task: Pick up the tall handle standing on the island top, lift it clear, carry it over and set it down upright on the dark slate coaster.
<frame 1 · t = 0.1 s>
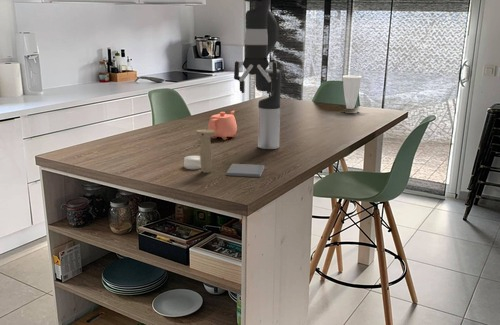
hand: (255, 93, 171), 29 cm above the kitchen island, fingers open, 8 cm apart
handle: (206, 172, 184), on the kitchen island
cup: (350, 112, 311), on the kitchen island
teapot: (223, 137, 241), on the kitchen island
coaster: (245, 171, 185), on the kitchen island
white dome knob: (193, 167, 191), on the kitchen island
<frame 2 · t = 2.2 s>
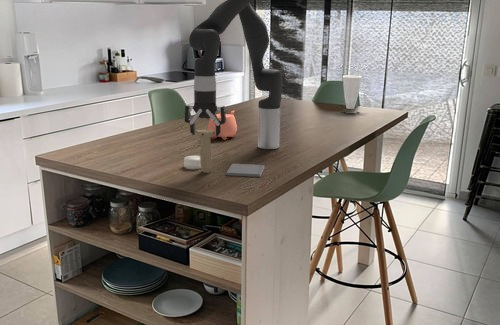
hand: (205, 135, 181), 14 cm above the kitchen island, fingers open, 8 cm apart
nothing on the kitchen island moved.
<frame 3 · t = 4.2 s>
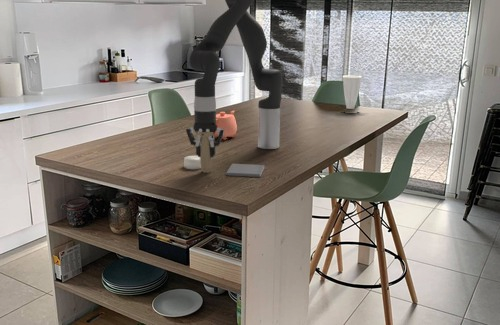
hand: (205, 156, 183), 6 cm above the kitchen island, fingers closed on handle, 4 cm apart
handle: (206, 172, 184), on the kitchen island, touching gripper
everything else where it was.
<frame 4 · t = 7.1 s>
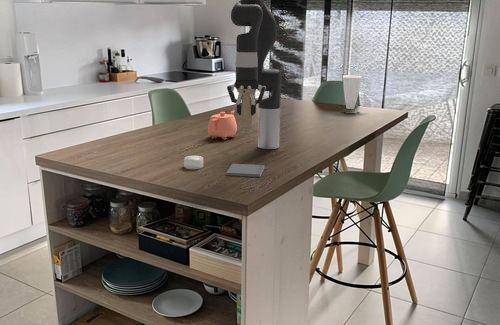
hand: (246, 114, 180), 21 cm above the kitchen island, fingers closed on handle, 4 cm apart
handle: (246, 131, 182), point 15 cm above the kitchen island, touching gripper
everything else where it was.
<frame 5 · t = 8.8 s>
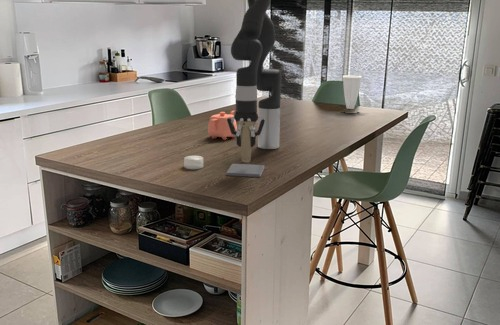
hand: (246, 146, 183), 9 cm above the kitchen island, fingers closed on handle, 4 cm apart
handle: (245, 162, 184), point 3 cm above the kitchen island, touching gripper
everything else where it was.
when the fingers open (8 cm above the kitchen island, at t = 10.1 s): handle stays where it is, resting on coaster.
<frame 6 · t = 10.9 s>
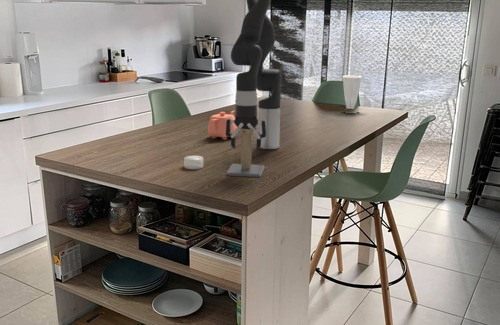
hand: (245, 148, 183), 9 cm above the kitchen island, fingers open, 8 cm apart
handle: (245, 169, 185), point 1 cm above the kitchen island, touching coaster
everything else where it was.
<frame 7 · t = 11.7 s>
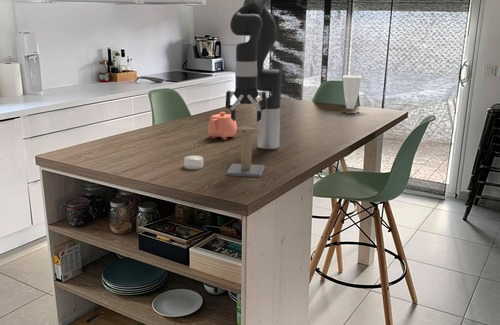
hand: (246, 120, 181), 19 cm above the kitchen island, fingers open, 8 cm apart
nothing on the kitchen island moved.
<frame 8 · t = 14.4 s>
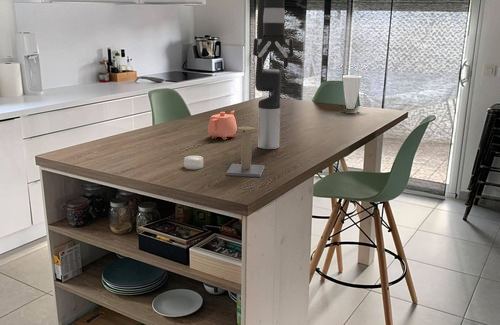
hand: (272, 68, 185), 36 cm above the kitchen island, fingers open, 8 cm apart
nothing on the kitchen island moved.
at the end: handle inside the target area on the coaster (0.1 cm from its centre), point 0.8 cm above the coaster's base; handle tilted 0°; the gripper is holding nothing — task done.
